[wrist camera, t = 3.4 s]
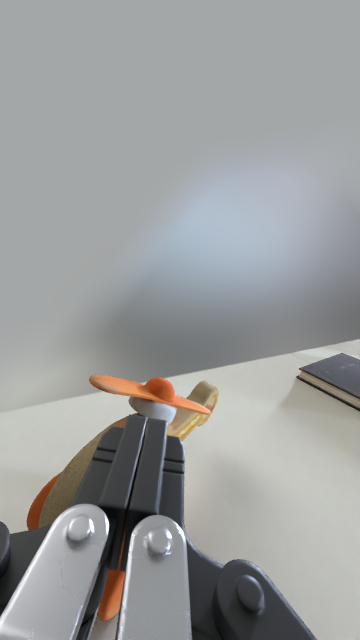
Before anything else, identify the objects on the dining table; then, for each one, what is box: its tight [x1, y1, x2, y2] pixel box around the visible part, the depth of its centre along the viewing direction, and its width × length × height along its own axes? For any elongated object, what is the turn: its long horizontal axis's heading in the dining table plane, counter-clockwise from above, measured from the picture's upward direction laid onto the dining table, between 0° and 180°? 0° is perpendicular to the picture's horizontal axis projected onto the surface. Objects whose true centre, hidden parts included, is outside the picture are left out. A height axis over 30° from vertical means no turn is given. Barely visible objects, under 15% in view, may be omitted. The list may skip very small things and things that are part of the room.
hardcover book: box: [297, 353, 360, 411], centre depth 55 cm, size 16×23×2 cm
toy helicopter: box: [27, 375, 219, 621], centre depth 23 cm, size 8×21×14 cm, turn 147°
